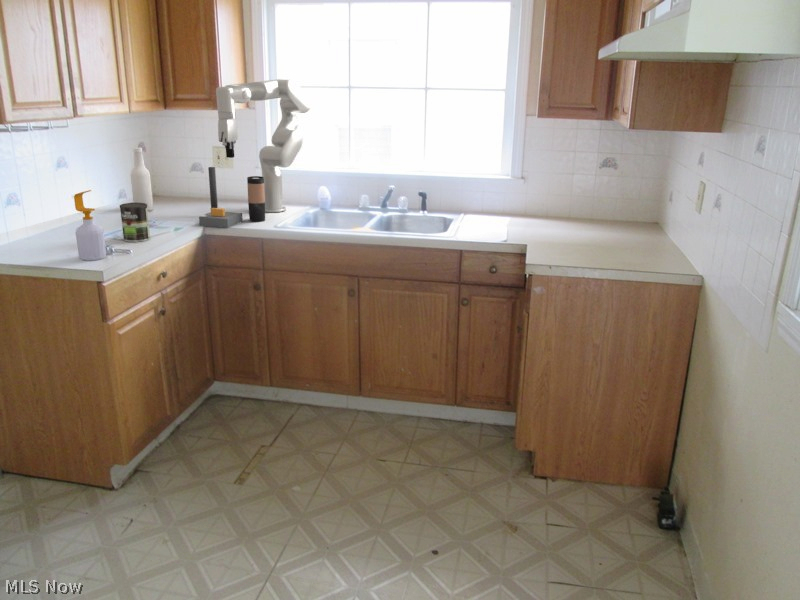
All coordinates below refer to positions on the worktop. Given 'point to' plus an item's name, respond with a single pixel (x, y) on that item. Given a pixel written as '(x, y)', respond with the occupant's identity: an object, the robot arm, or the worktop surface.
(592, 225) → the worktop surface
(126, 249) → the worktop surface
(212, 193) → the post
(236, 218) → the grey square slab
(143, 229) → the coffee can
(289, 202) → the worktop surface
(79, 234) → the soap bottle
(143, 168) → the alcohol
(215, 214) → the handle
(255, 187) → the travel mug
